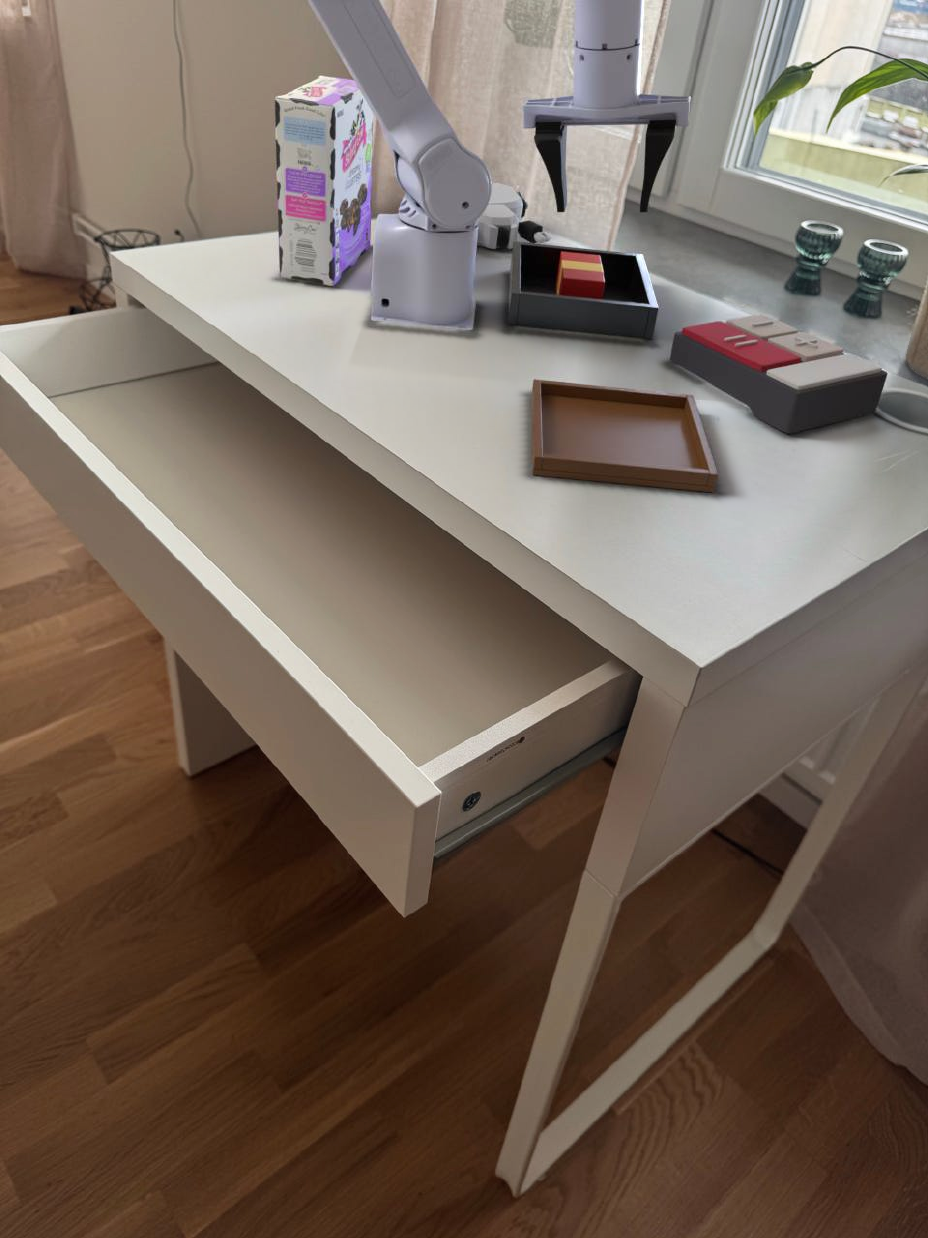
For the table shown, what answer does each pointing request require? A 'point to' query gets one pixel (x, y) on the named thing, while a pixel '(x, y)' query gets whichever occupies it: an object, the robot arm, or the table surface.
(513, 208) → the robot toy
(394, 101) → the robot arm
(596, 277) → the red yellow banded block
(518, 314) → the dark grey open bin
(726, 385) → the calculator
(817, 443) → the table surface
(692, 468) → the tray
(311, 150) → the candy box
